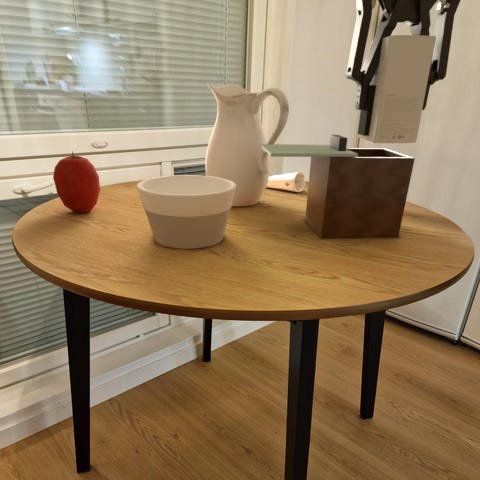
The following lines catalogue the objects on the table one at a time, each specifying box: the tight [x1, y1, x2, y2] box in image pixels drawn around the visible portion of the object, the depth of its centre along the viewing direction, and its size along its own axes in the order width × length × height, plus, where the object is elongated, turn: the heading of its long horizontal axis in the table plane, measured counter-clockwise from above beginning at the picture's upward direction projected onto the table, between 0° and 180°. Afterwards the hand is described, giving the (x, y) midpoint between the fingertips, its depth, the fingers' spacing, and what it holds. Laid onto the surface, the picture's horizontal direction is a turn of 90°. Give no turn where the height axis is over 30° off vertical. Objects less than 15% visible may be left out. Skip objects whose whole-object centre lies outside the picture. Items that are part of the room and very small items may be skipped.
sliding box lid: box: [261, 134, 358, 158], centre depth 86 cm, size 17×13×3 cm
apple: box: [52, 150, 101, 214], centre depth 100 cm, size 10×10×14 cm
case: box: [304, 147, 416, 239], centre depth 92 cm, size 17×14×16 cm
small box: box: [357, 34, 436, 144], centre depth 61 cm, size 8×6×13 cm
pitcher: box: [204, 83, 290, 207], centre depth 106 cm, size 24×17×28 cm
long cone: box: [266, 171, 306, 193], centre depth 131 cm, size 6×6×19 cm
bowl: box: [136, 174, 236, 250], centre depth 85 cm, size 19×19×11 cm
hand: (386, 134), depth 64 cm, fingers closed on small box, 6 cm apart
